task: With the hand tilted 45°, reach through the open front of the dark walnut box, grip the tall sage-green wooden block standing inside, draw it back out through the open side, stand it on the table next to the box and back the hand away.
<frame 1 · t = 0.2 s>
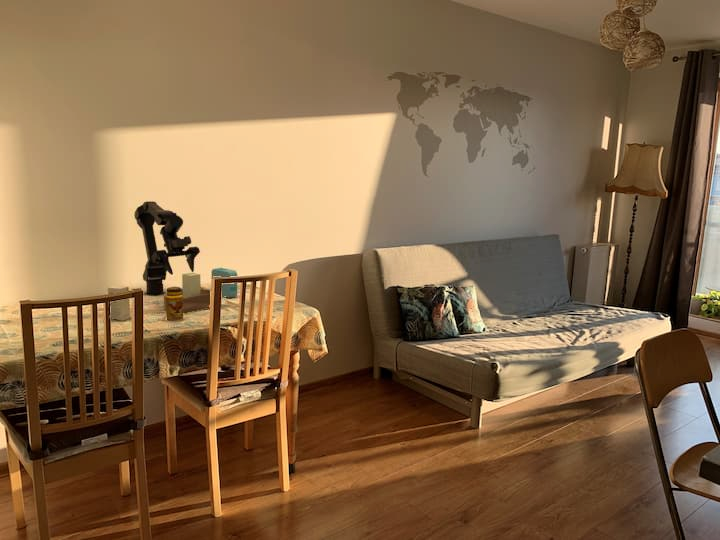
hand: (182, 272, 237), 14 cm above the table, tool tilted 35°, fingers open, 9 cm apart
data package: (224, 296, 262), on the table
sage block: (191, 291, 237), in the walnut box
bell: (193, 296, 262), on the table
walnut box: (191, 308, 238), on the table
skincare box: (119, 319, 219), on the table
condiment: (173, 319, 221), on the table
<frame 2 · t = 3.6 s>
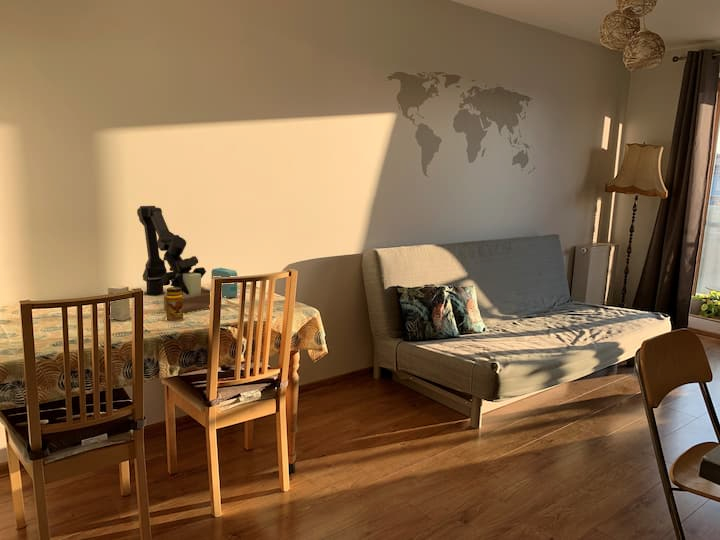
hand: (193, 292, 236), 7 cm above the table, tool tilted 45°, fingers closed on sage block, 5 cm apart
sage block: (191, 291, 237), in the walnut box, touching gripper
everything else where it was.
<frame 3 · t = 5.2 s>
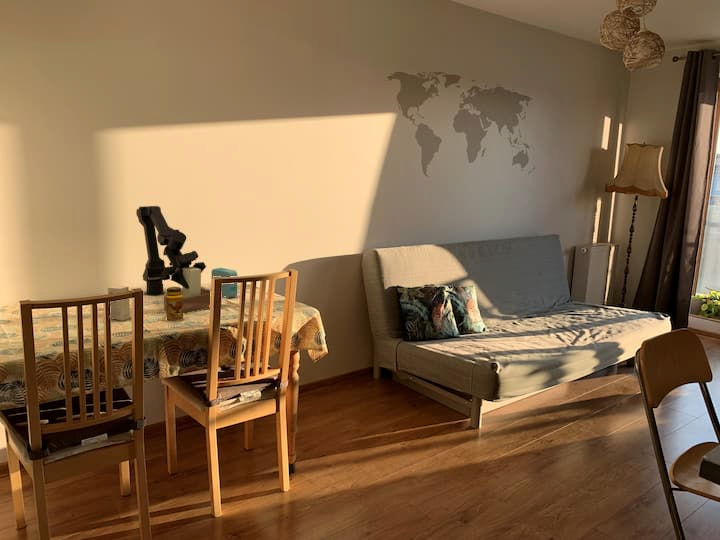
hand: (193, 287, 236), 9 cm above the table, tool tilted 45°, fingers closed on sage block, 5 cm apart
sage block: (191, 285, 237), point 9 cm above the table, touching gripper
everything else where it was.
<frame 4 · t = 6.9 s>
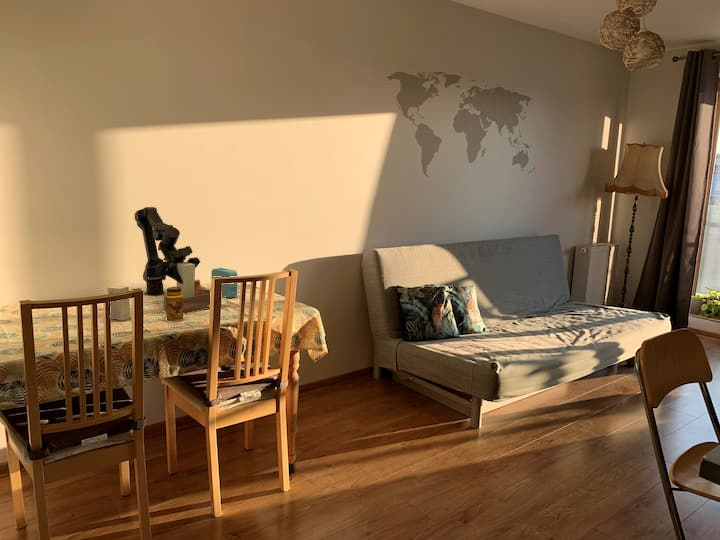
hand: (187, 282, 238), 10 cm above the table, tool tilted 45°, fingers closed on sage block, 5 cm apart
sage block: (185, 280, 239), point 11 cm above the table, touching gripper
everything else where it was.
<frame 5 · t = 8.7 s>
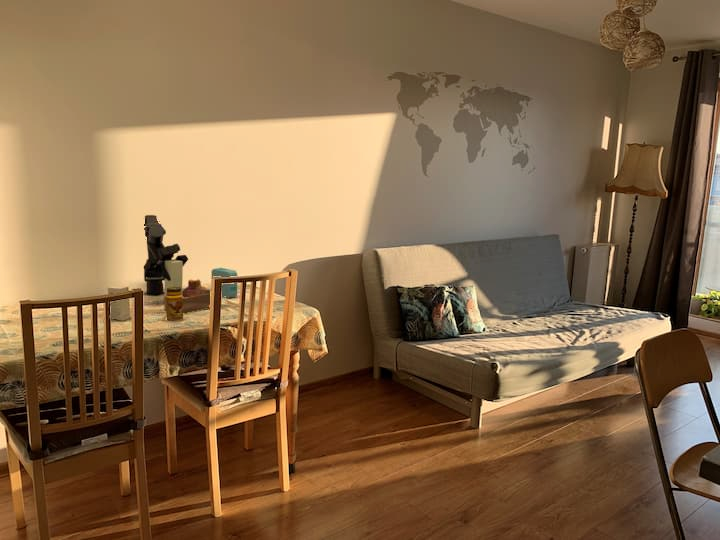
hand: (175, 279, 242), 10 cm above the table, tool tilted 45°, fingers closed on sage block, 5 cm apart
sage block: (173, 277, 243), point 11 cm above the table, touching gripper
everything else where it was.
when the fingers open (8 cm above the table, at t = 10.2 s): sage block drops 1 cm, on the table.
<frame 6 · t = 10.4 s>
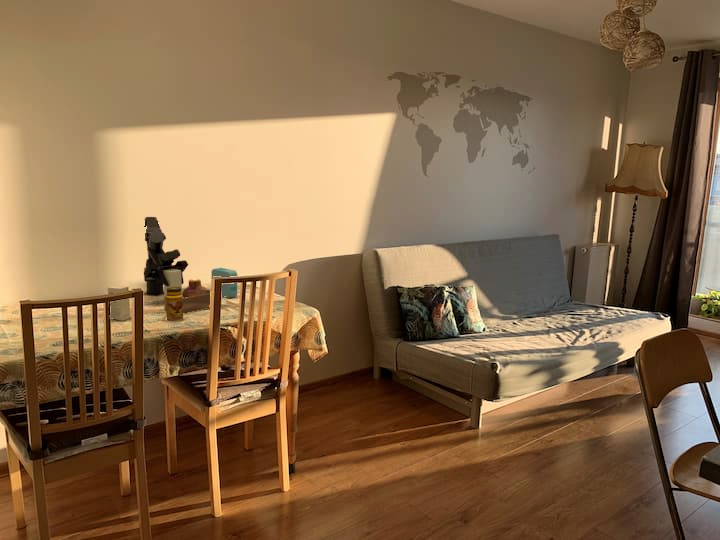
hand: (175, 284, 243), 8 cm above the table, tool tilted 45°, fingers open, 7 cm apart
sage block: (172, 286, 244), on the table
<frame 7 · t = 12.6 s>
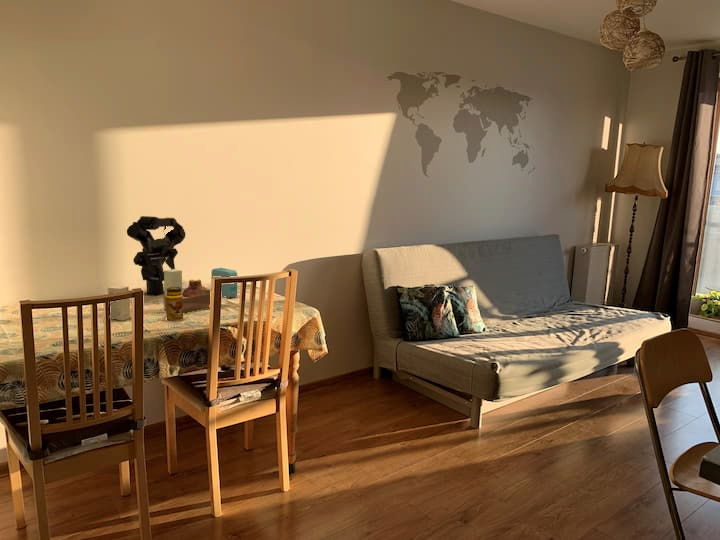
hand: (165, 271, 246), 13 cm above the table, tool tilted 45°, fingers open, 9 cm apart
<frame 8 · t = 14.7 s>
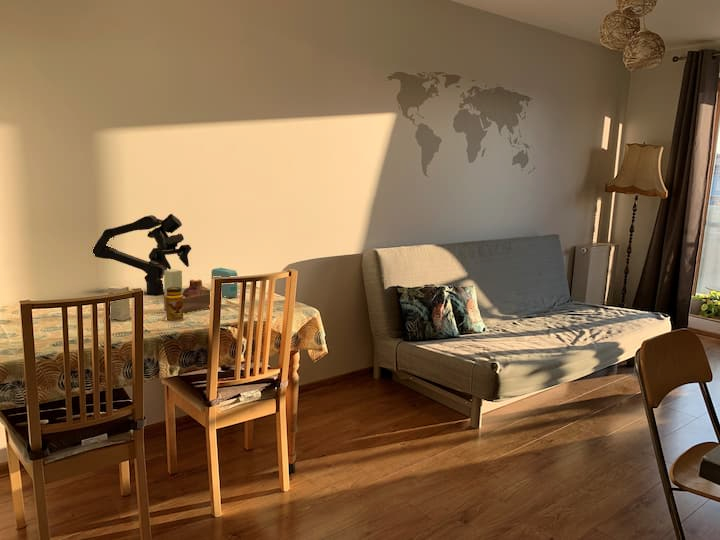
hand: (179, 267, 252), 14 cm above the table, tool tilted 45°, fingers open, 9 cm apart
at the end: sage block inside the target area (0.9 cm from its centre), on the table; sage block tilted 0°; the gripper is holding nothing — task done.
